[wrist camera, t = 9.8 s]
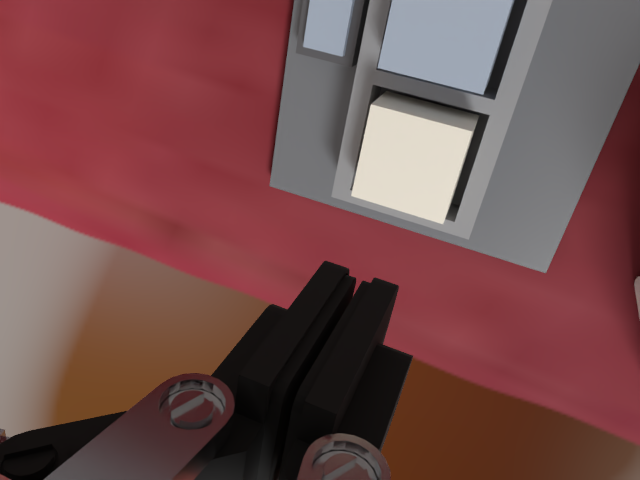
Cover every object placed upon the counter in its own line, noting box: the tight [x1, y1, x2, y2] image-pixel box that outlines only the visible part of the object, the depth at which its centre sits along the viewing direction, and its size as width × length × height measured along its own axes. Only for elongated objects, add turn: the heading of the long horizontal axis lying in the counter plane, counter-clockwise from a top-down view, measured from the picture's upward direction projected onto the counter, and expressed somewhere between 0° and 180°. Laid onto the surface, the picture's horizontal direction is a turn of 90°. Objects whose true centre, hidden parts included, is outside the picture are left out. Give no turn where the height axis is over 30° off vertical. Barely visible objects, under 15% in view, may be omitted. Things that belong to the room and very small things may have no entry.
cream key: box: [351, 91, 479, 224], centre depth 23 cm, size 4×4×2 cm
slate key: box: [378, 0, 515, 95], centre depth 21 cm, size 4×4×2 cm
